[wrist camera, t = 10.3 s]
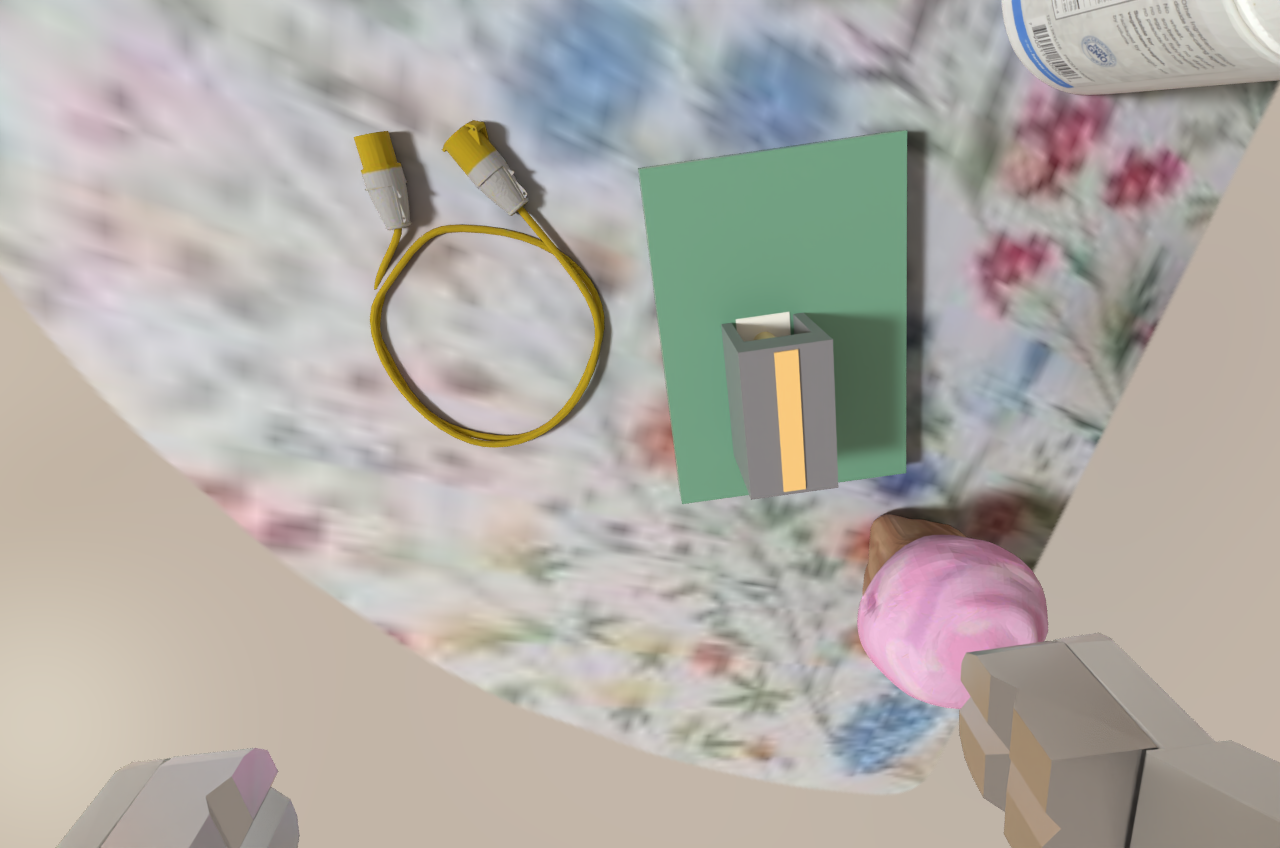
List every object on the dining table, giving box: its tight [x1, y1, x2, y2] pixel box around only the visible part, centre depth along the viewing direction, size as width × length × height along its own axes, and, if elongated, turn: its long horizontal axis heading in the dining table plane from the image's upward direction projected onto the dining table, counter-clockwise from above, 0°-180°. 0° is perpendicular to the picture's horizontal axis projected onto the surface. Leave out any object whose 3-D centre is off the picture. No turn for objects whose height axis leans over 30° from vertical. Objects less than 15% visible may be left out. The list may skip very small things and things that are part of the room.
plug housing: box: [721, 313, 838, 500], centre depth 34 cm, size 7×4×5 cm, turn 8°
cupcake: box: [857, 514, 1048, 709], centre depth 37 cm, size 9×9×10 cm
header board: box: [638, 131, 907, 504], centre depth 34 cm, size 17×12×4 cm
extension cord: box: [354, 120, 604, 447], centre depth 35 cm, size 12×16×2 cm
